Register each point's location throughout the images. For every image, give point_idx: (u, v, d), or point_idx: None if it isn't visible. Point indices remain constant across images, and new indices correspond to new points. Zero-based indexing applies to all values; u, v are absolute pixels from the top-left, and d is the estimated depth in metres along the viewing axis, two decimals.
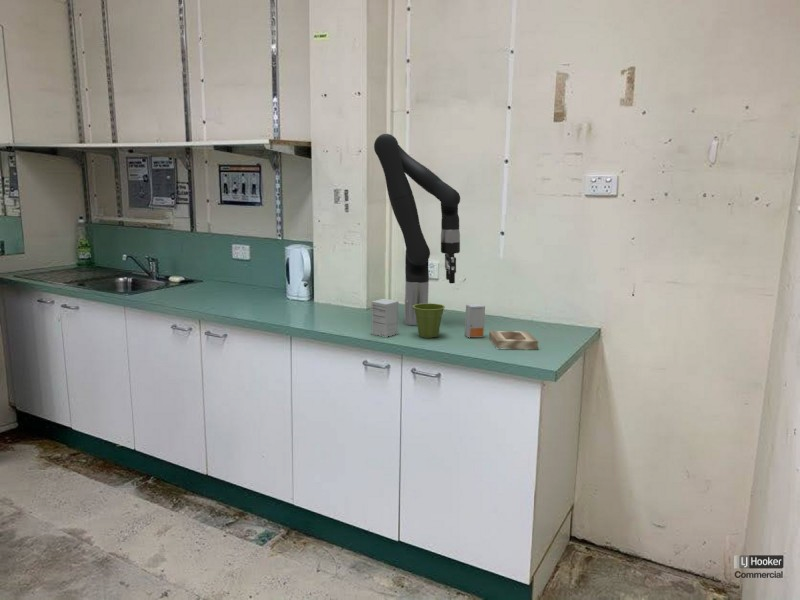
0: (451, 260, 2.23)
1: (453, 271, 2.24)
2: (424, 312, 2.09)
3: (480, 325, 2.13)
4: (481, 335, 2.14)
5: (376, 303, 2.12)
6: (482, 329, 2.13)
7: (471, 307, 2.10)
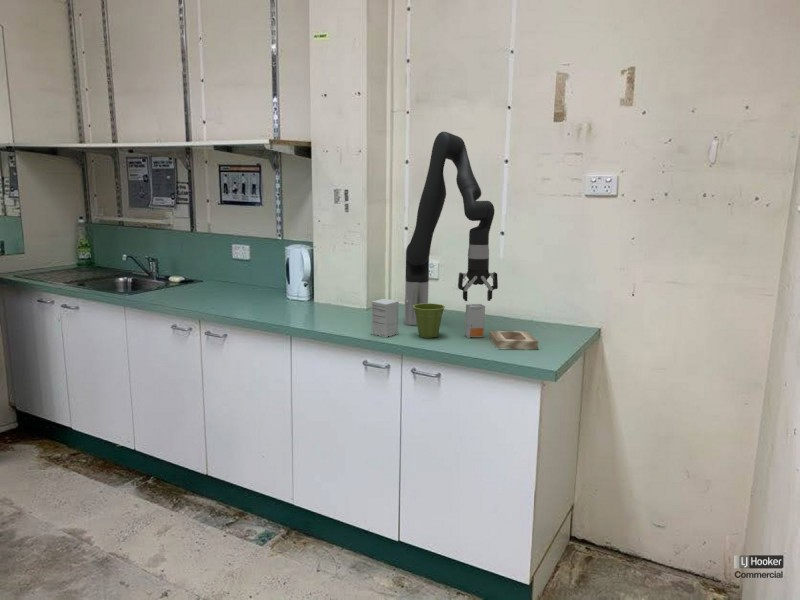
0: None
1: None
2: (424, 312, 2.09)
3: (480, 325, 2.13)
4: (481, 335, 2.14)
5: (376, 303, 2.12)
6: (482, 329, 2.13)
7: (471, 307, 2.10)
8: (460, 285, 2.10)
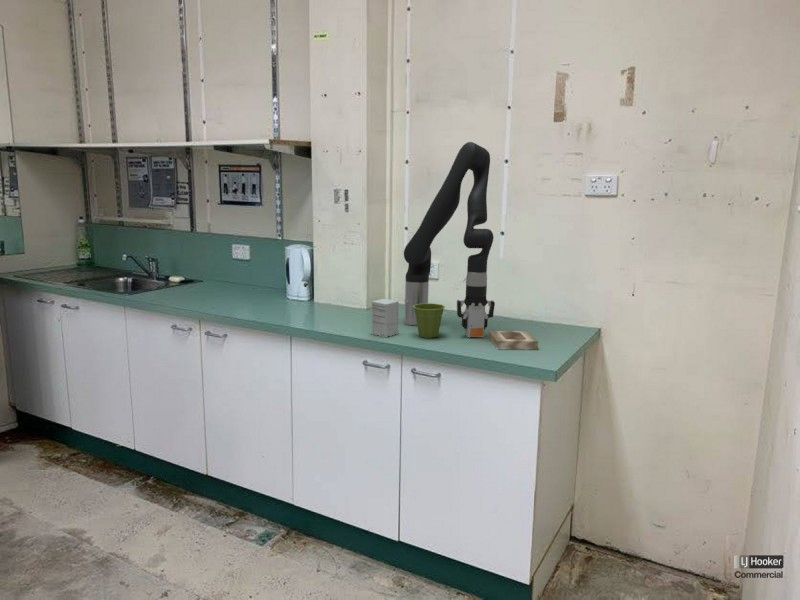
0: None
1: None
2: (424, 312, 2.09)
3: (481, 325, 2.13)
4: (481, 335, 2.14)
5: (376, 303, 2.12)
6: (482, 329, 2.13)
7: (471, 307, 2.10)
8: (459, 313, 2.12)
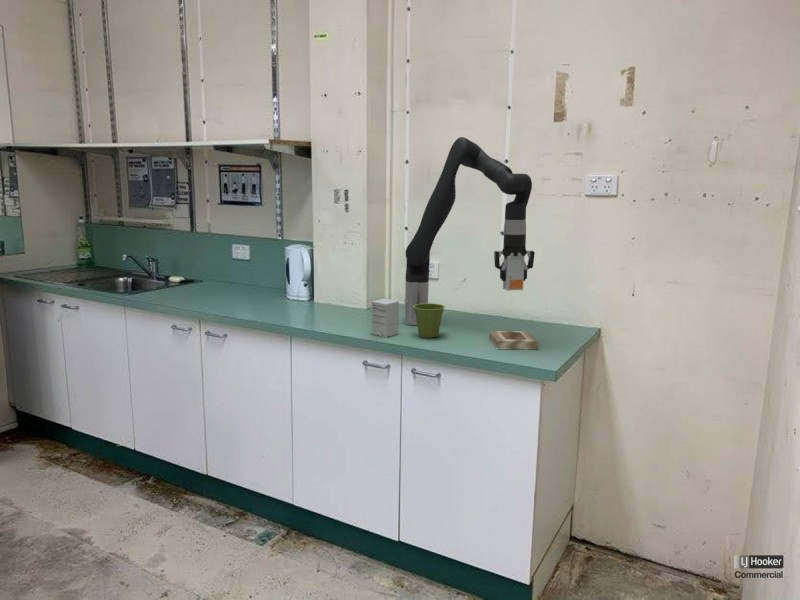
0: None
1: None
2: (424, 312, 2.09)
3: (520, 277, 2.01)
4: (521, 287, 2.02)
5: (376, 303, 2.12)
6: (522, 281, 2.02)
7: (510, 257, 1.99)
8: (497, 264, 2.00)
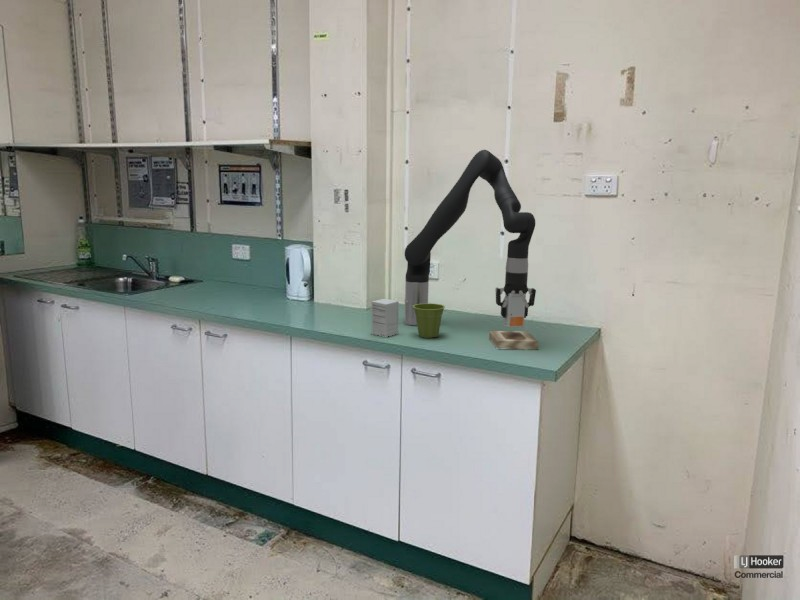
0: None
1: None
2: (424, 312, 2.09)
3: (521, 314, 2.02)
4: (521, 324, 2.03)
5: (376, 303, 2.12)
6: (522, 318, 2.03)
7: (511, 295, 2.00)
8: (498, 301, 2.02)
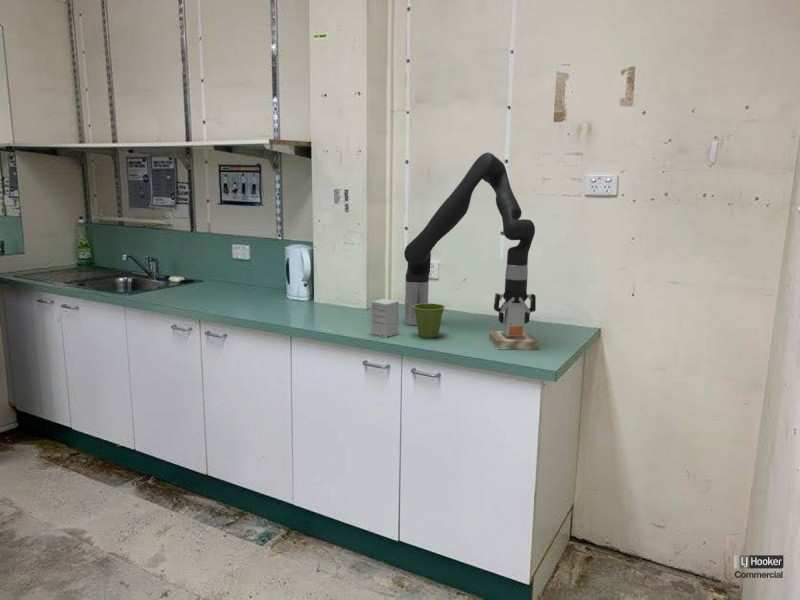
0: None
1: None
2: (424, 312, 2.09)
3: (520, 323, 2.03)
4: (521, 334, 2.04)
5: (376, 303, 2.12)
6: (522, 327, 2.03)
7: (511, 304, 2.01)
8: (496, 306, 2.02)
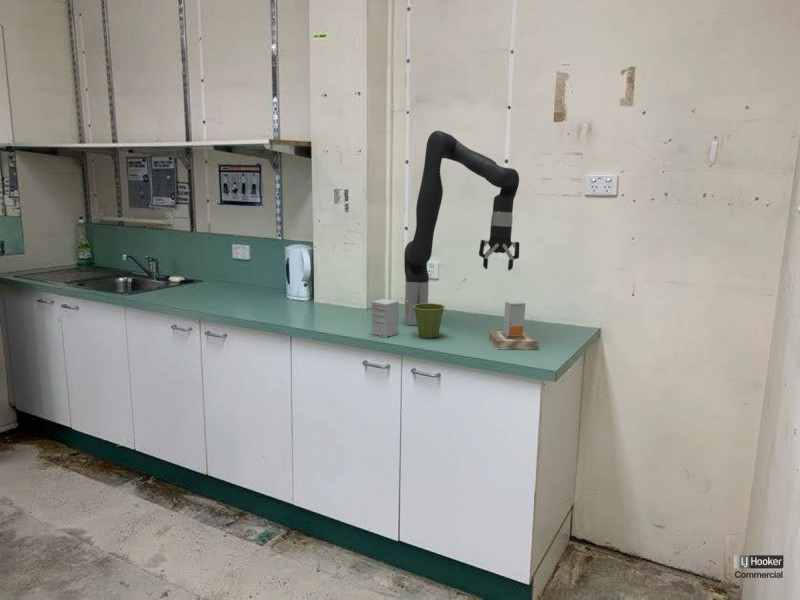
0: None
1: None
2: (424, 312, 2.09)
3: (520, 323, 2.03)
4: (521, 334, 2.04)
5: (376, 303, 2.12)
6: (522, 327, 2.03)
7: (511, 304, 2.01)
8: (481, 252, 2.09)
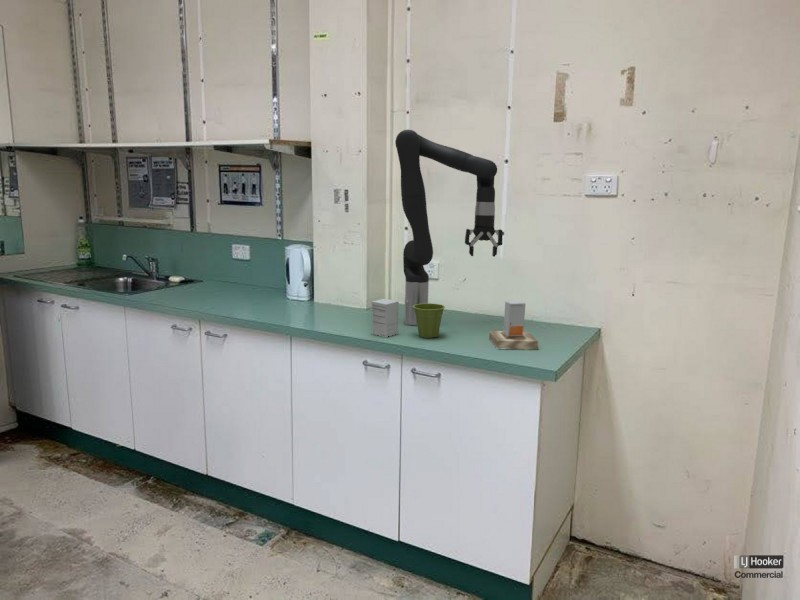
0: None
1: None
2: (424, 312, 2.09)
3: (520, 323, 2.03)
4: (521, 334, 2.04)
5: (376, 303, 2.12)
6: (522, 327, 2.03)
7: (511, 304, 2.01)
8: (467, 240, 2.23)
